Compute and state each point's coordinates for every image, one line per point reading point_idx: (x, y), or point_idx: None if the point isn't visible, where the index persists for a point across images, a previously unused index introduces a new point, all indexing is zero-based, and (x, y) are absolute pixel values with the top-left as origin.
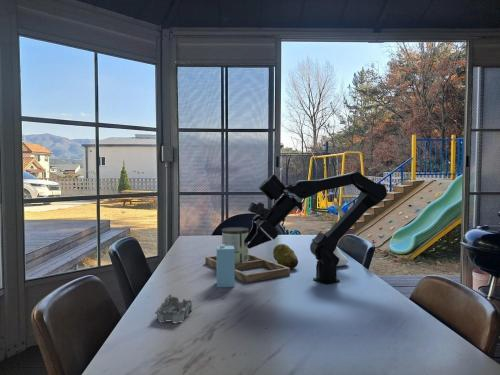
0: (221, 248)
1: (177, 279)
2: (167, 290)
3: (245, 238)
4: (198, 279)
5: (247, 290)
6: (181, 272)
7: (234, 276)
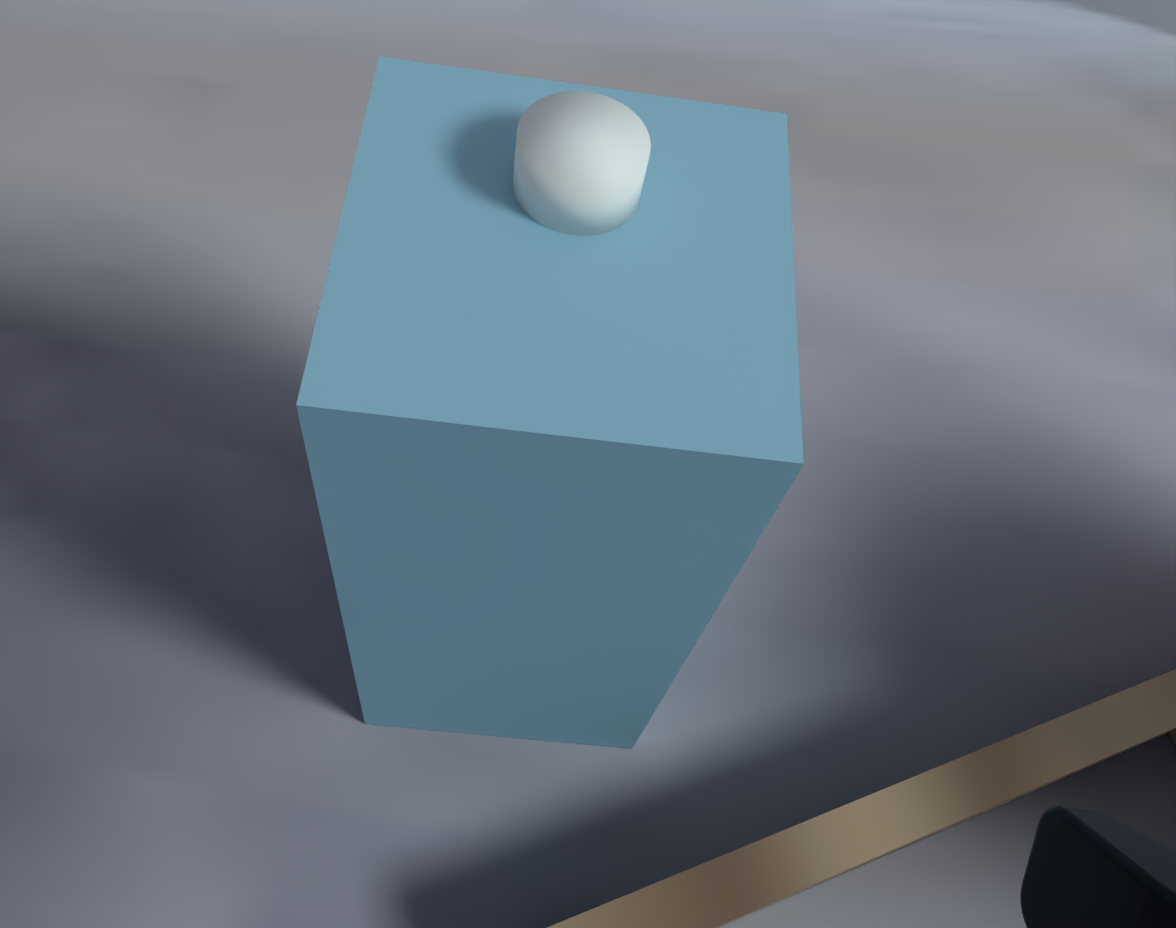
0: (462, 147)
1: (817, 144)
2: (429, 38)
3: (1157, 852)
4: (799, 329)
5: (91, 895)
6: (1108, 203)
7: (354, 670)
